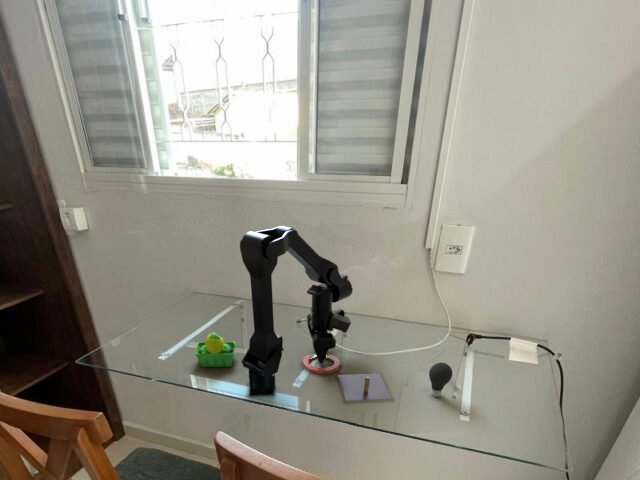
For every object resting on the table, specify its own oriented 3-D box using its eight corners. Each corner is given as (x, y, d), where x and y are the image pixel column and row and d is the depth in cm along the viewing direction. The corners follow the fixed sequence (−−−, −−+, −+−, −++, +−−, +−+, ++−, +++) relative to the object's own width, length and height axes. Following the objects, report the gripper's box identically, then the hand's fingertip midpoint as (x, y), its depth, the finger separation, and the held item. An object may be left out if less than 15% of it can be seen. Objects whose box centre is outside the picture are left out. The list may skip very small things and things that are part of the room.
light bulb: (446, 393, 111) (455, 360, 105) (445, 404, 107) (454, 371, 101) (424, 389, 113) (432, 357, 107) (423, 400, 109) (430, 367, 103)
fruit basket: (237, 356, 128) (234, 322, 121) (235, 371, 121) (232, 335, 114) (200, 357, 128) (195, 322, 121) (196, 371, 121) (190, 336, 114)
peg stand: (345, 402, 108) (347, 386, 105) (337, 376, 118) (338, 361, 115) (392, 400, 109) (395, 384, 106) (379, 375, 119) (382, 359, 116)
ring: (305, 376, 119) (305, 371, 118) (301, 357, 127) (301, 353, 126) (342, 374, 119) (342, 369, 118) (336, 356, 128) (336, 352, 127)
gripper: (356, 319, 110) (351, 370, 119) (343, 294, 125) (340, 341, 134) (315, 320, 109) (312, 371, 119) (307, 295, 124) (306, 342, 134)
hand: (319, 355), depth 126 cm, fingers open, 9 cm apart
